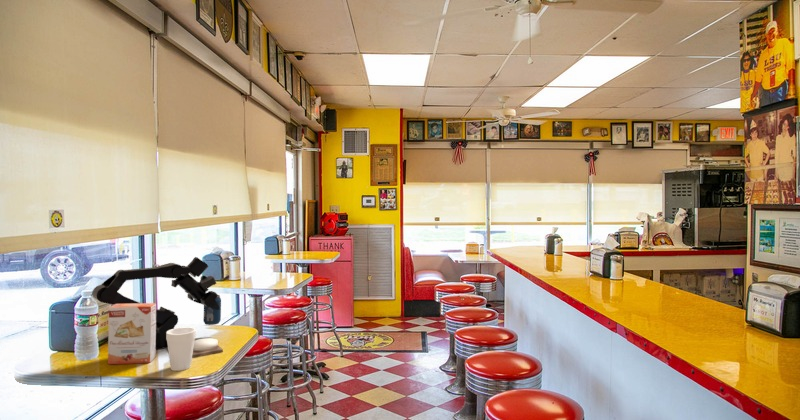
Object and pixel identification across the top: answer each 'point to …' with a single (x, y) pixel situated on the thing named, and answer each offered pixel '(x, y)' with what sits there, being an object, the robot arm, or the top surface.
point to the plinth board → (196, 353)
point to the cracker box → (132, 333)
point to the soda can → (212, 313)
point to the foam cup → (180, 347)
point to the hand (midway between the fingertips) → (215, 307)
